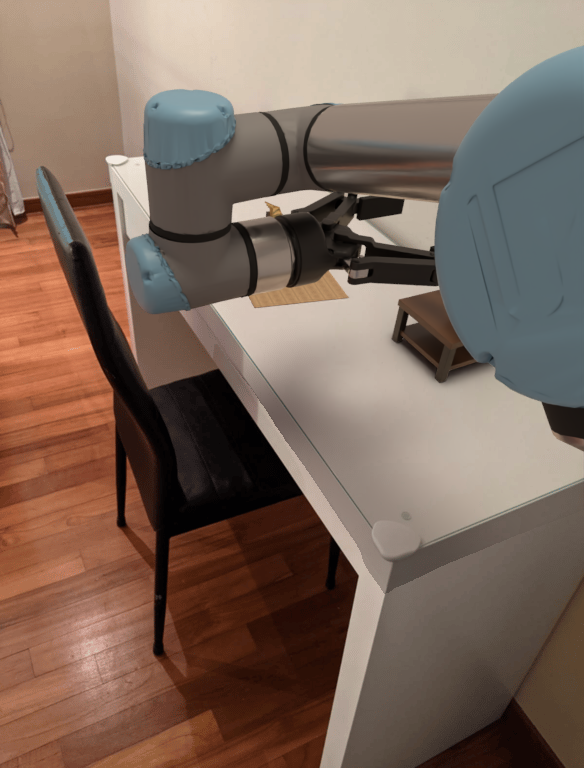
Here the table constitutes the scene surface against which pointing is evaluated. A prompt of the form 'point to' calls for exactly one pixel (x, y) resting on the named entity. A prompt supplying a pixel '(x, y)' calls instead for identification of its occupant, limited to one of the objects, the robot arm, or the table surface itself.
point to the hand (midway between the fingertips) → (436, 224)
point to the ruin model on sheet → (272, 207)
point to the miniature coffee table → (431, 333)
